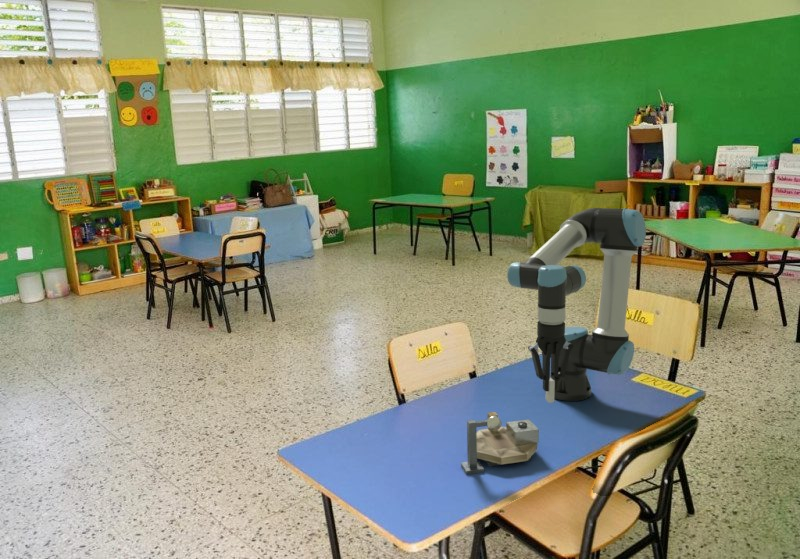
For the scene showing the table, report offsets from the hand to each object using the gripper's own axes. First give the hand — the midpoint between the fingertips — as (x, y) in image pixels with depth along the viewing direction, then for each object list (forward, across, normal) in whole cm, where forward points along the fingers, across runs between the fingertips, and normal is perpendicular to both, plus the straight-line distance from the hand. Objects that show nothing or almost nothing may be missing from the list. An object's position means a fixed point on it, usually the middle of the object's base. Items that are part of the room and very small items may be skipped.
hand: (549, 400), depth 191 cm
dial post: (+15, +22, +6) cm, 27 cm away
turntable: (+13, +14, 0) cm, 19 cm away
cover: (+11, +8, 0) cm, 13 cm away
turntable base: (+15, +14, 0) cm, 20 cm away
